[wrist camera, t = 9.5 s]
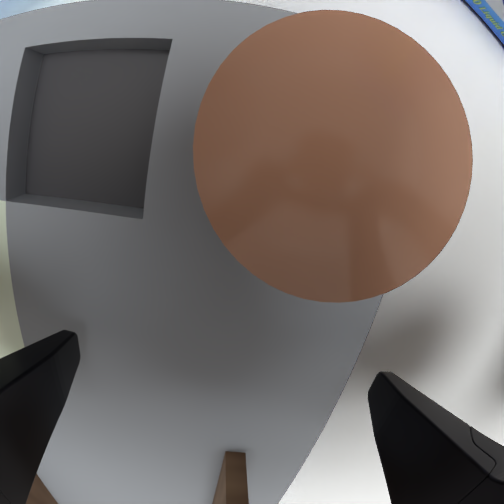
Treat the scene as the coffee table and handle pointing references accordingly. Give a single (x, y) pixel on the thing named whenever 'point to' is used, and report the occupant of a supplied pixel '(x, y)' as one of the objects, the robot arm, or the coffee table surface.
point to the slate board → (149, 262)
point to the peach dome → (332, 156)
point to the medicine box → (490, 14)
